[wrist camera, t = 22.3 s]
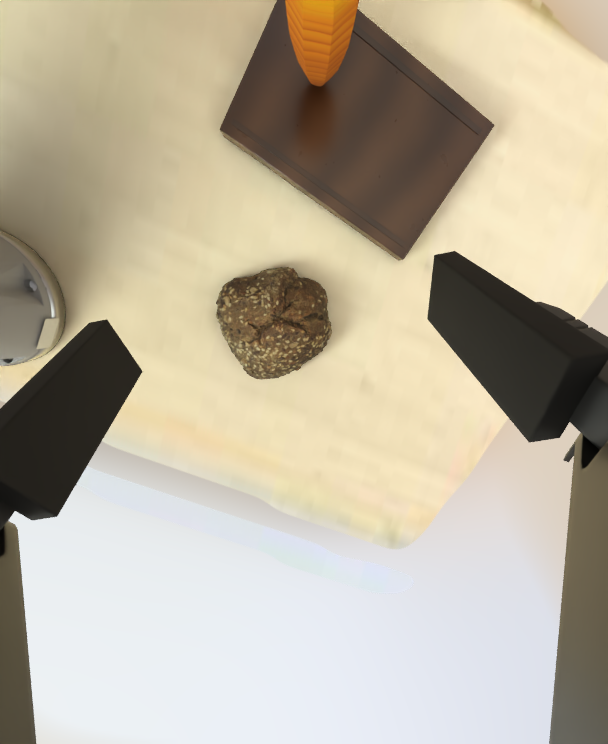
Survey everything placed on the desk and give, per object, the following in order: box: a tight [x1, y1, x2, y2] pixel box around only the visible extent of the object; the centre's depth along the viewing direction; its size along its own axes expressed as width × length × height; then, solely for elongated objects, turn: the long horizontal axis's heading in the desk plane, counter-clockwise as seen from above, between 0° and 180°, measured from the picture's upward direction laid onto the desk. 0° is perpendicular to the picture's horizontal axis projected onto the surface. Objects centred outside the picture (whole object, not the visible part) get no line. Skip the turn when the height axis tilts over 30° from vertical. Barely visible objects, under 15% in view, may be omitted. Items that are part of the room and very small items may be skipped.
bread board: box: [220, 0, 494, 260], centre depth 28 cm, size 22×14×2 cm, turn 58°
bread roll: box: [216, 267, 332, 379], centre depth 32 cm, size 13×12×5 cm
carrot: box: [285, 0, 359, 86], centre depth 19 cm, size 5×5×15 cm
